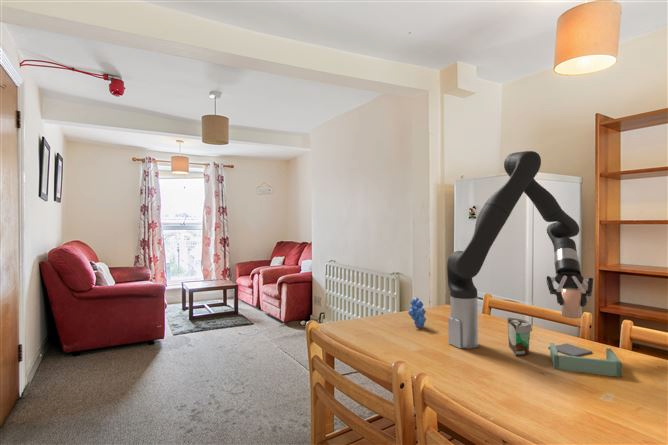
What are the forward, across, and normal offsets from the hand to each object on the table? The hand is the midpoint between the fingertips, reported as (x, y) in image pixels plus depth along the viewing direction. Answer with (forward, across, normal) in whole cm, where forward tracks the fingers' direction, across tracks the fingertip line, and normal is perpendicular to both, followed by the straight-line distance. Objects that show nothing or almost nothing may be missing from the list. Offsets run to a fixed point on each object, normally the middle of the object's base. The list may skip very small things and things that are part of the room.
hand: (572, 304), depth 125 cm
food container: (+14, -15, +9) cm, 23 cm away
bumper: (+18, +2, +5) cm, 19 cm away
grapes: (+2, -55, +21) cm, 59 cm away
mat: (+9, 0, +14) cm, 17 cm away
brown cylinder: (+2, 0, +4) cm, 5 cm away
